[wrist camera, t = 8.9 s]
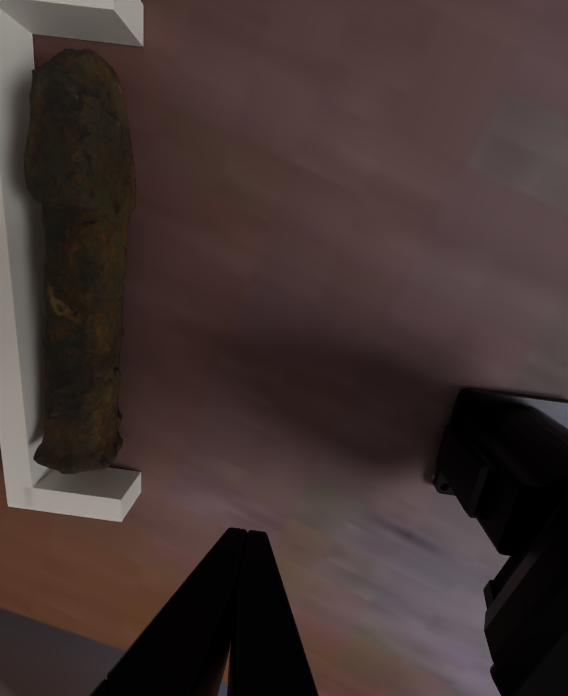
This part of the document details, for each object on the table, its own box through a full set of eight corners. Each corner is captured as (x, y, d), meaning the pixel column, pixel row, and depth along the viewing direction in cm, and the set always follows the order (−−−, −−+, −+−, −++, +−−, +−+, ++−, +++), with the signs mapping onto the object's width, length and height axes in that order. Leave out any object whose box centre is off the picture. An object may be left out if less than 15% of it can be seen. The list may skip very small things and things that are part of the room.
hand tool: (132, 444, 21) (89, 496, 17) (68, 429, 21) (6, 477, 17) (179, 93, 16) (133, 34, 12) (93, 71, 16) (14, 2, 12)
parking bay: (143, 5, 15) (112, -42, 13) (141, 492, 22) (121, 521, 20) (-5, -12, 15) (-63, -61, 13) (39, 478, 22) (8, 506, 20)
